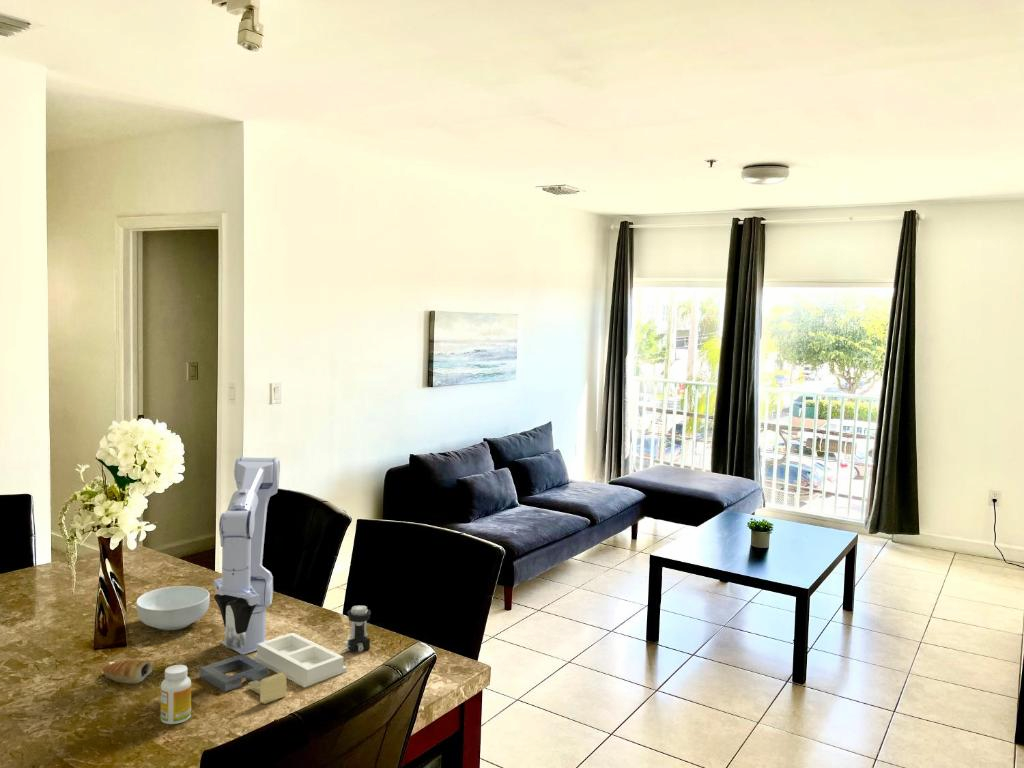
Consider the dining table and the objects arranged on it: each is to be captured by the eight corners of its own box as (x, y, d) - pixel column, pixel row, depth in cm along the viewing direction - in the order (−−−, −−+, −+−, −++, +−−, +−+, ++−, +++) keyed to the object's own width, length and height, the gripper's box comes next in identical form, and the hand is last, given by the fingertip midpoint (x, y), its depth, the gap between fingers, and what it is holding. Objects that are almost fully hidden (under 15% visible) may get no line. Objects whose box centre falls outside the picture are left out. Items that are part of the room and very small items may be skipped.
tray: (253, 659, 181) (253, 644, 181) (295, 646, 189) (295, 631, 189) (304, 687, 169) (304, 671, 169) (346, 671, 177) (347, 655, 177)
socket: (199, 676, 172) (200, 667, 172) (242, 662, 179) (242, 653, 179) (225, 692, 165) (225, 682, 165) (267, 676, 173) (268, 667, 173)
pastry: (95, 682, 168) (95, 664, 168) (114, 668, 175) (114, 651, 174) (138, 686, 167) (138, 668, 167) (156, 672, 174) (156, 654, 173)
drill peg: (221, 644, 172) (222, 603, 171) (238, 639, 175) (239, 599, 174) (231, 650, 169) (232, 608, 168) (248, 645, 172) (249, 603, 171)
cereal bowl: (156, 610, 208) (156, 583, 208) (220, 613, 208) (220, 586, 207) (122, 636, 191) (122, 607, 191) (191, 639, 191) (192, 610, 190)
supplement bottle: (195, 711, 157) (195, 663, 156) (184, 725, 152) (185, 675, 151) (167, 710, 157) (167, 662, 156) (155, 724, 152) (156, 674, 151)
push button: (346, 657, 185) (347, 614, 184) (337, 648, 189) (338, 607, 188) (373, 651, 188) (374, 609, 187) (364, 643, 193) (365, 602, 192)
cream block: (241, 690, 166) (241, 669, 166) (263, 682, 170) (263, 661, 169) (264, 704, 161) (264, 682, 160) (286, 695, 165) (286, 674, 164)
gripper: (200, 562, 172) (200, 624, 173) (237, 579, 163) (237, 644, 164) (231, 556, 178) (230, 616, 179) (268, 571, 168) (267, 635, 169)
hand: (235, 629), depth 172 cm, fingers closed on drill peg, 4 cm apart
